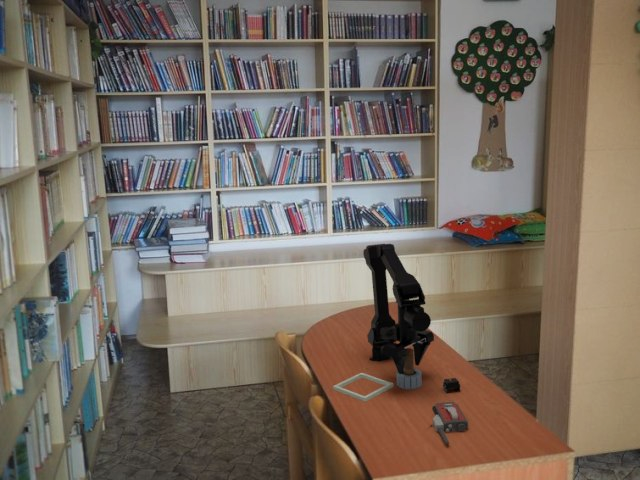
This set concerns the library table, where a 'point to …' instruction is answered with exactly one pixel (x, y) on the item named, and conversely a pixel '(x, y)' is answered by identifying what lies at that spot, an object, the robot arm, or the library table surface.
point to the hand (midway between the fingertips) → (408, 369)
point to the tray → (358, 396)
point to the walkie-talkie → (448, 419)
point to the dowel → (409, 362)
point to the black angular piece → (451, 384)
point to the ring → (410, 380)
